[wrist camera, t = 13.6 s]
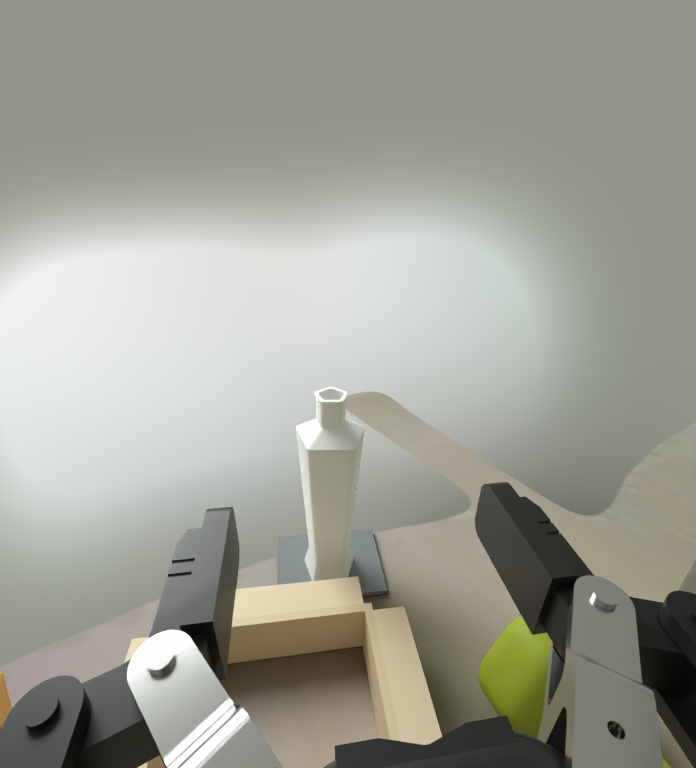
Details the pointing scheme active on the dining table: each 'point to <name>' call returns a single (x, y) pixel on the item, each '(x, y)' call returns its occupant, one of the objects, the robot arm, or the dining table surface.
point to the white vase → (329, 483)
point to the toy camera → (4, 701)
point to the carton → (336, 646)
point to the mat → (362, 565)
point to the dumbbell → (518, 677)
